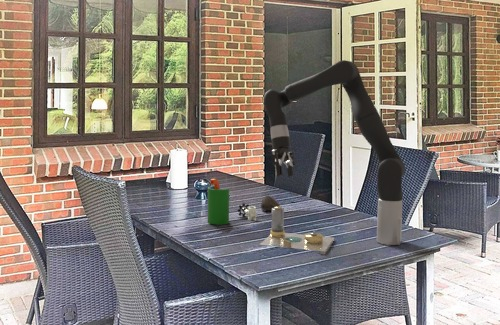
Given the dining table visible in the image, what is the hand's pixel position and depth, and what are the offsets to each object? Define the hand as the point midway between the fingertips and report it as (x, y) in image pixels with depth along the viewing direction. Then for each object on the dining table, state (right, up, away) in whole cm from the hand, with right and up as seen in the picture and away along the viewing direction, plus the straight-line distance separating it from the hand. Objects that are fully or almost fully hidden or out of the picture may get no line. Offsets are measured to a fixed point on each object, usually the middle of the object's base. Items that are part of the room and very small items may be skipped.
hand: (285, 176), depth 217 cm
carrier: (+4, -26, -11) cm, 29 cm away
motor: (-29, -22, +22) cm, 42 cm away
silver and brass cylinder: (-4, -24, -4) cm, 24 cm away
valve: (-15, -21, +27) cm, 38 cm away
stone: (-5, -19, +45) cm, 49 cm away
